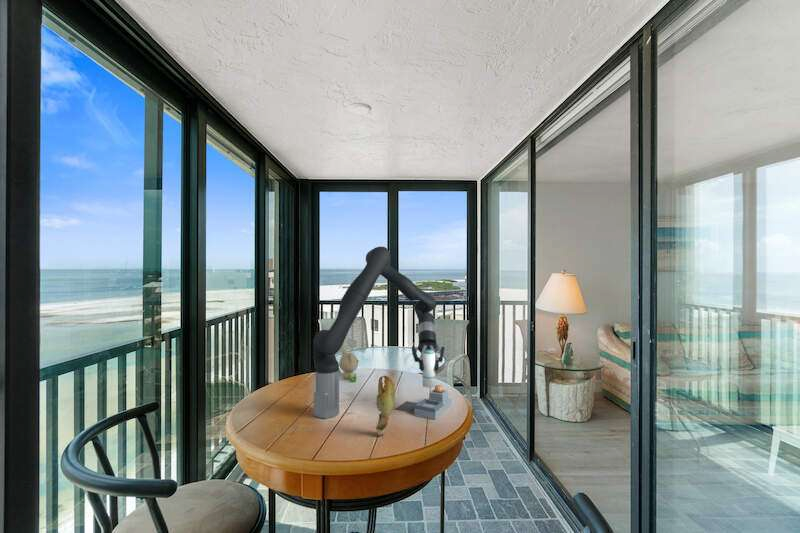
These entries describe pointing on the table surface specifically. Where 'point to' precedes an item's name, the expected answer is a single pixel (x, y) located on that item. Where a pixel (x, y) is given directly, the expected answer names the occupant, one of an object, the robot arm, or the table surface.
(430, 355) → the cartridge
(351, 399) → the table surface
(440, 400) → the housing
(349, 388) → the table surface
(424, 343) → the robot arm
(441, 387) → the plunger
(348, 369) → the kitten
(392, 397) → the crab claw
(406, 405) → the pad
